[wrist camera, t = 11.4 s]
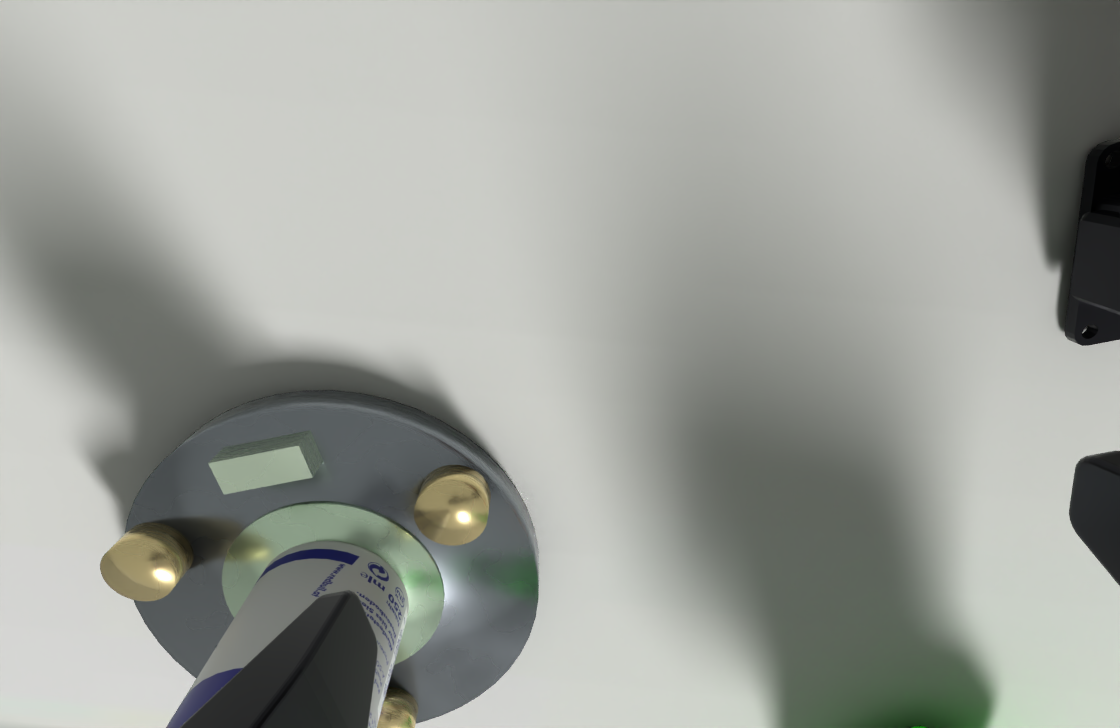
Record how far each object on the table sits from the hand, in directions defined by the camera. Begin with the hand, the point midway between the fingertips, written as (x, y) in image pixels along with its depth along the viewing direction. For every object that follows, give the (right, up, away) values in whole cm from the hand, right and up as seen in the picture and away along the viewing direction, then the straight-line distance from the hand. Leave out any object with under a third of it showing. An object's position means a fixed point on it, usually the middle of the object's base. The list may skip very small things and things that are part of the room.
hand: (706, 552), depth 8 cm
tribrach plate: (-10, -5, +16) cm, 20 cm away
